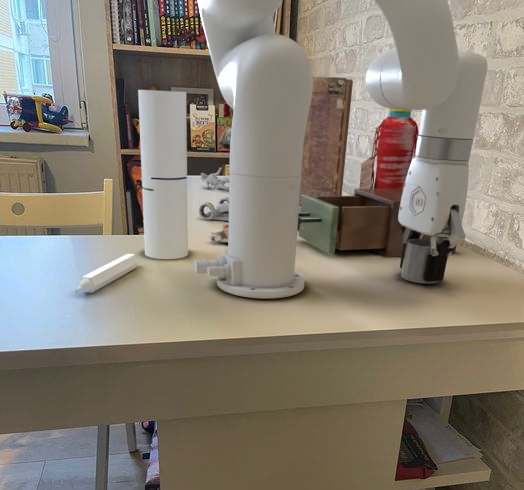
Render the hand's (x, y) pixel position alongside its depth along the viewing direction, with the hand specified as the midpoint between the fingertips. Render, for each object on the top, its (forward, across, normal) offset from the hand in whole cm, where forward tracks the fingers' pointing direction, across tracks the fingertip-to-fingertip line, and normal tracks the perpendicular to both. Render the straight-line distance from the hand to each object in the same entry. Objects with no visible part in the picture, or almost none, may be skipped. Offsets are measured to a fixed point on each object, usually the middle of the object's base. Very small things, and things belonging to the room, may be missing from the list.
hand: (420, 273), depth 86 cm
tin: (+1, 0, 0) cm, 1 cm away
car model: (+2, -46, -12) cm, 48 cm away
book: (+1, -70, +6) cm, 70 cm away
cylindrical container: (+2, -22, -36) cm, 42 cm away
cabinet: (+1, -21, +10) cm, 23 cm away
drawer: (0, -21, -5) cm, 22 cm away
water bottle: (+1, -38, +14) cm, 41 cm away
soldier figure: (+2, -94, -8) cm, 94 cm away
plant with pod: (+2, -29, -20) cm, 36 cm away
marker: (+2, -8, -46) cm, 47 cm away
